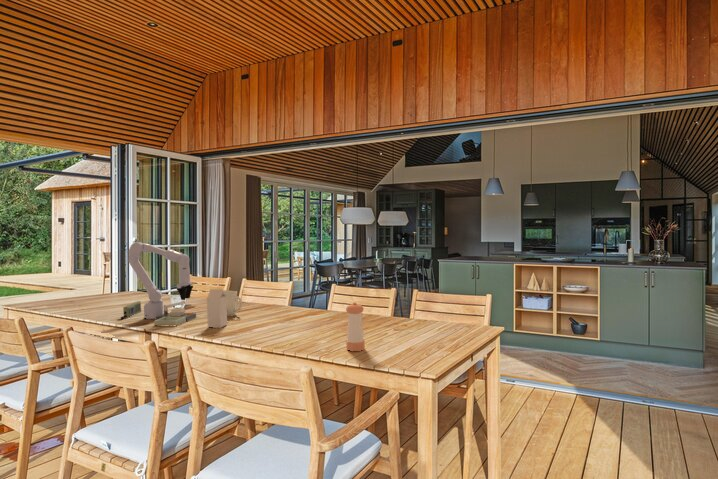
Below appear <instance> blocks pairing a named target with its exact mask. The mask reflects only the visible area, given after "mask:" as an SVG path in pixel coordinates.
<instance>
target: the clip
mask: <svg viewBox="0 0 718 479" xmlns="http://www.w3.org/2000/svg"><path fill="white" fill-rule="evenodd" d="M185 304H186V301H185V300H181V301H179V302H175V303H170V304H163V314H164V315H167V314H168V313H169V310H168V308H172V307H177V306H180V305H185Z"/></svg>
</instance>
